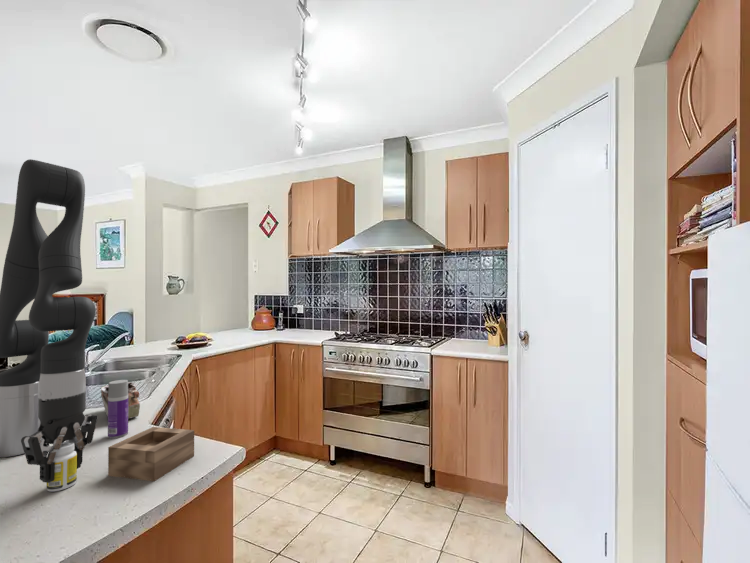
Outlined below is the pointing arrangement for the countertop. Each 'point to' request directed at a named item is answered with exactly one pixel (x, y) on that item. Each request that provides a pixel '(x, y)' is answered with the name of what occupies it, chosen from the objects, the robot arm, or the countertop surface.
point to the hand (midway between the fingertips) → (61, 474)
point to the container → (118, 409)
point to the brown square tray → (150, 453)
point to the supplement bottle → (64, 467)
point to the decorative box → (132, 399)
